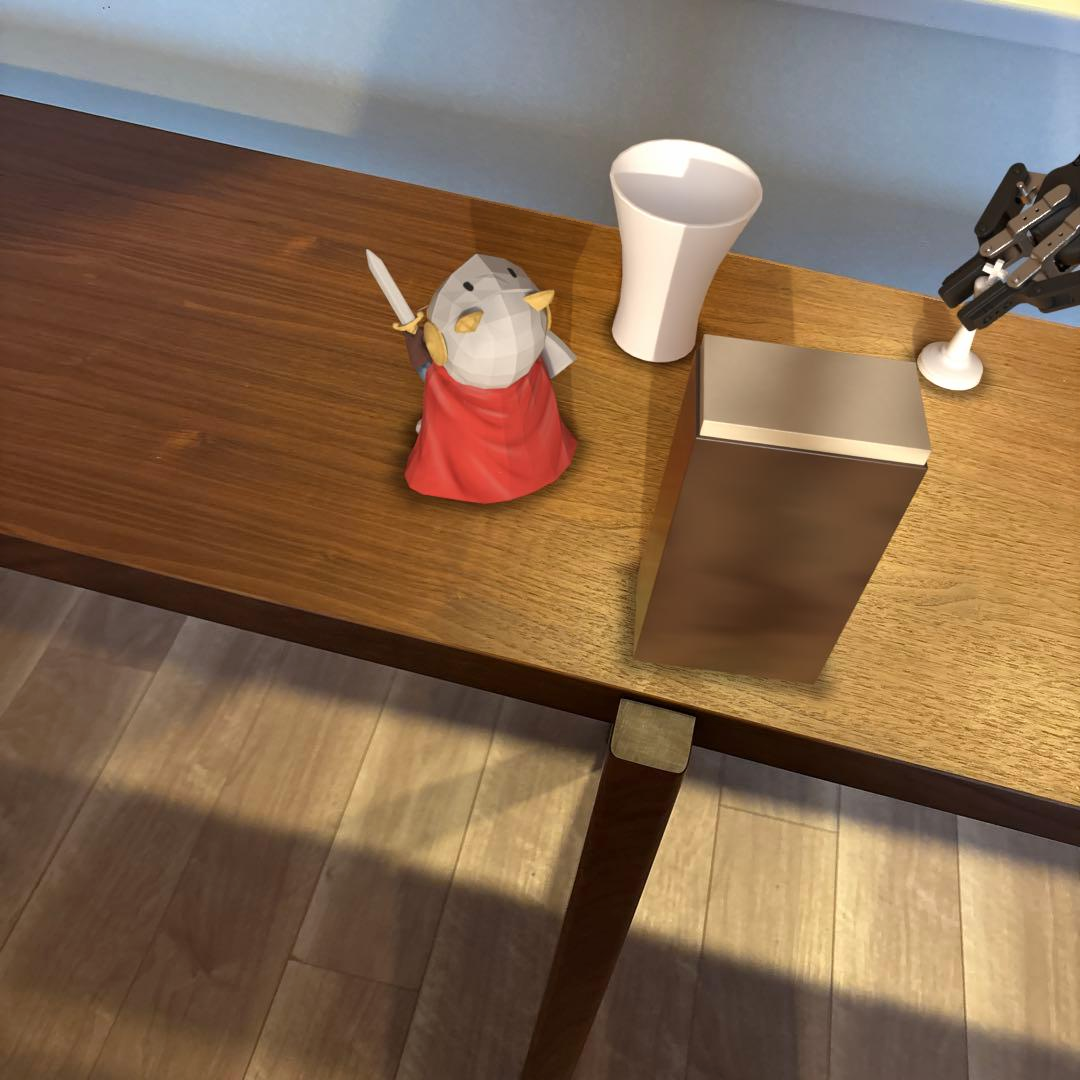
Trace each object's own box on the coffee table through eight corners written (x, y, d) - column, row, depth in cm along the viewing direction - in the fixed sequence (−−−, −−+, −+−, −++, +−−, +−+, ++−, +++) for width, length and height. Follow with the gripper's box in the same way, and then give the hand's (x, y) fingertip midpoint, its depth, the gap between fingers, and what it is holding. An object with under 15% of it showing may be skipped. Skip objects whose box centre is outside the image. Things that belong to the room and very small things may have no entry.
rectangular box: (808, 598, 70) (919, 360, 55) (814, 685, 66) (936, 454, 51) (637, 575, 70) (700, 330, 55) (632, 661, 66) (699, 422, 51)
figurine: (549, 375, 81) (571, 197, 70) (595, 489, 74) (629, 313, 63) (371, 397, 78) (364, 215, 67) (403, 518, 71) (401, 339, 60)
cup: (725, 387, 82) (770, 234, 72) (585, 375, 82) (610, 218, 71) (716, 298, 89) (756, 145, 78) (586, 286, 88) (609, 131, 78)
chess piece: (931, 339, 88) (980, 232, 80) (990, 366, 86) (1045, 260, 78) (906, 371, 85) (954, 263, 77) (966, 399, 83) (1021, 292, 76)
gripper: (1102, 57, 75) (887, 229, 82) (1237, 169, 67) (987, 351, 74) (1127, 122, 81) (924, 279, 87) (1255, 233, 73) (1021, 397, 79)
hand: (954, 311), depth 80 cm, fingers closed on chess piece
